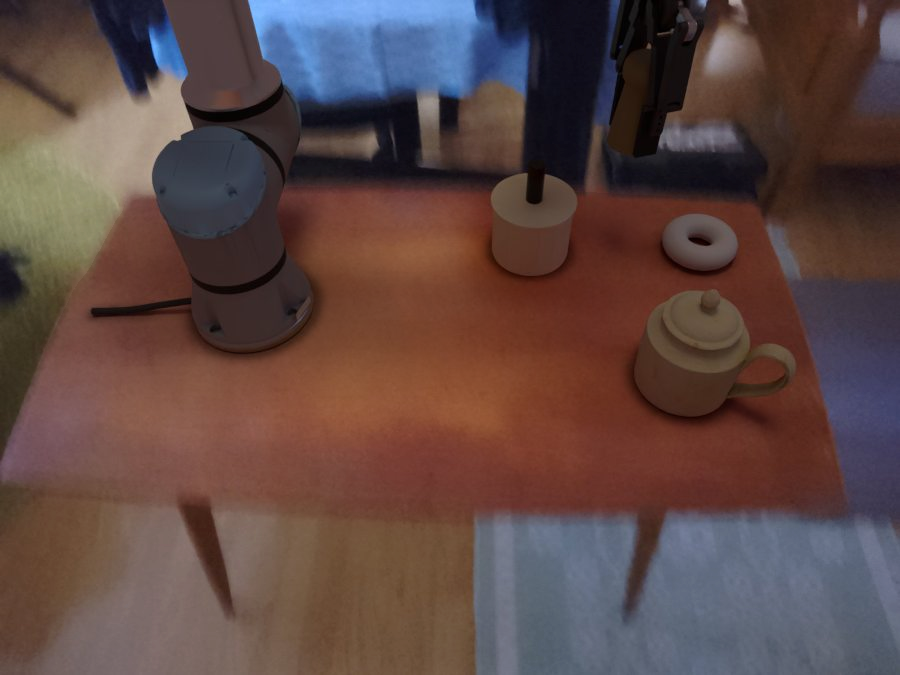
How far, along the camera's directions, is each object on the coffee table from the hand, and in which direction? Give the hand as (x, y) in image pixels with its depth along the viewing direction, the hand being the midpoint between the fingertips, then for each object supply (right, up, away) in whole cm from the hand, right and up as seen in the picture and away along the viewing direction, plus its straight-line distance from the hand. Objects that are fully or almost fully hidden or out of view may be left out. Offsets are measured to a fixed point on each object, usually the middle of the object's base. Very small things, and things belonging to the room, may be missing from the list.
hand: (631, 138), depth 83 cm
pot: (-11, -12, +12) cm, 20 cm away
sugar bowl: (+7, -29, -3) cm, 30 cm away
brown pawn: (0, 0, 0) cm, 1 cm away
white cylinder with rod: (-11, -7, +6) cm, 14 cm away
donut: (+12, -12, +12) cm, 21 cm away
